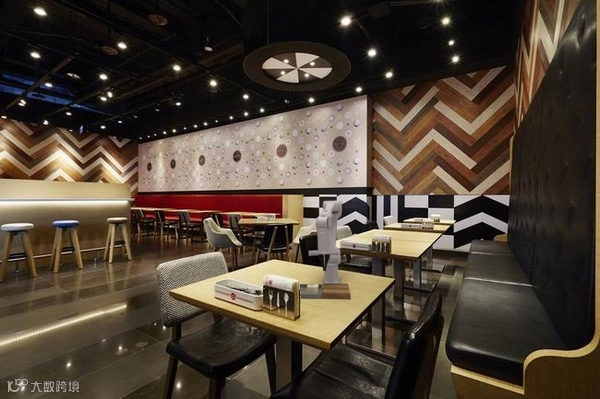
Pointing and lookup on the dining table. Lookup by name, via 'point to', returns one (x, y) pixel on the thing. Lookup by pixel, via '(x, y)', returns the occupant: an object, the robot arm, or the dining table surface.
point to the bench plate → (336, 291)
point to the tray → (310, 295)
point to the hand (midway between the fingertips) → (324, 270)
